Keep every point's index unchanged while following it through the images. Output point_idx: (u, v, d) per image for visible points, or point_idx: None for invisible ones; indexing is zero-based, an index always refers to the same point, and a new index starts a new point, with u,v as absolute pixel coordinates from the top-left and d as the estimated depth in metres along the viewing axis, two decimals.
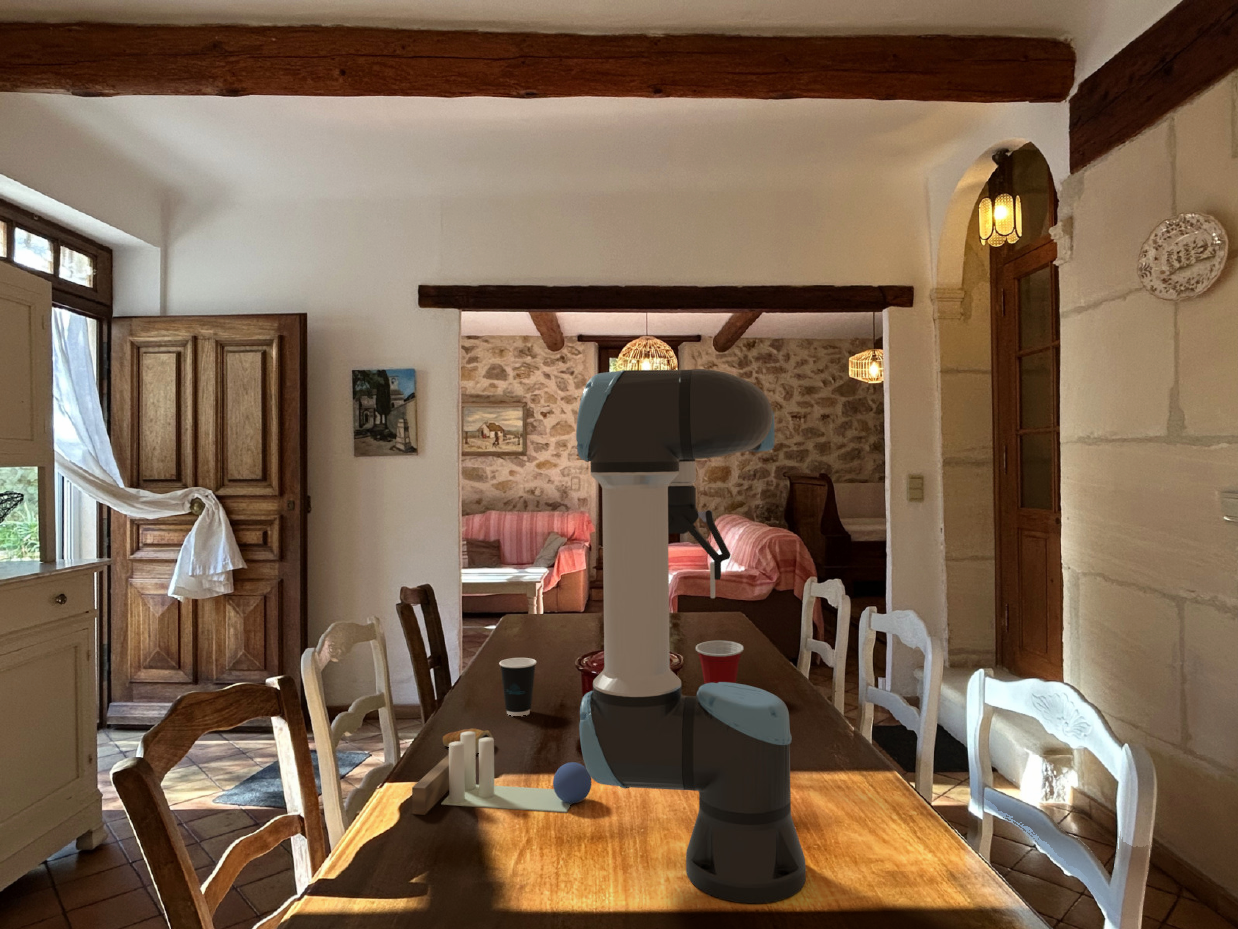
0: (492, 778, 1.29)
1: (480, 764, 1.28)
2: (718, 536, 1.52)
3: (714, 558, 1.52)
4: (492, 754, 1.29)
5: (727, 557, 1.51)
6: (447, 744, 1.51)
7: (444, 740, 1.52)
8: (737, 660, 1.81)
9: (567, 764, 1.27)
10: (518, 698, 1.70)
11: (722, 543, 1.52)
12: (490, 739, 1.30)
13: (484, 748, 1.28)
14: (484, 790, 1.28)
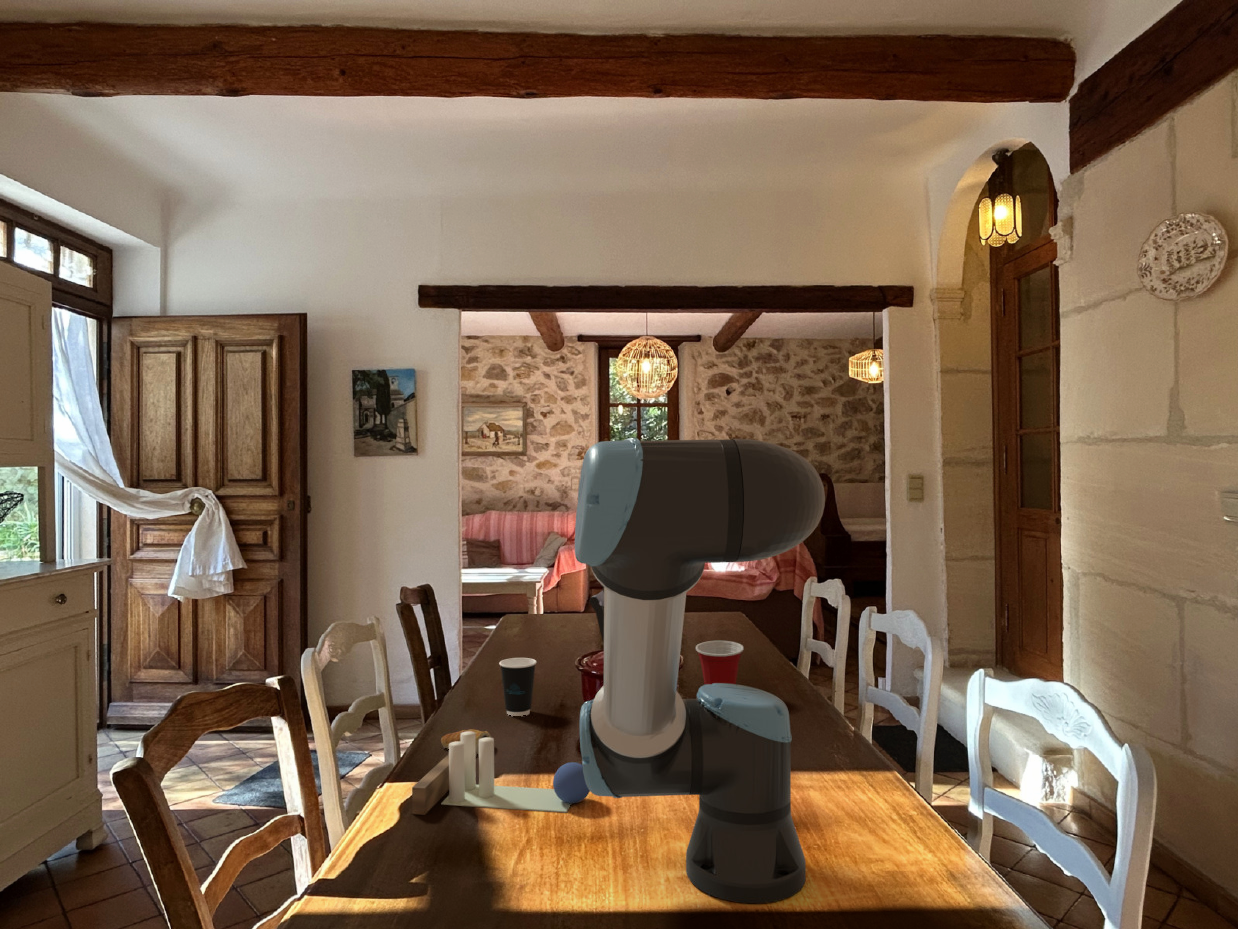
0: (492, 778, 1.29)
1: (480, 764, 1.28)
2: None
3: None
4: (492, 754, 1.29)
5: None
6: (446, 745, 1.51)
7: (443, 741, 1.51)
8: (737, 660, 1.81)
9: (567, 764, 1.27)
10: (518, 698, 1.70)
11: None
12: (490, 739, 1.30)
13: (484, 748, 1.28)
14: (484, 790, 1.28)
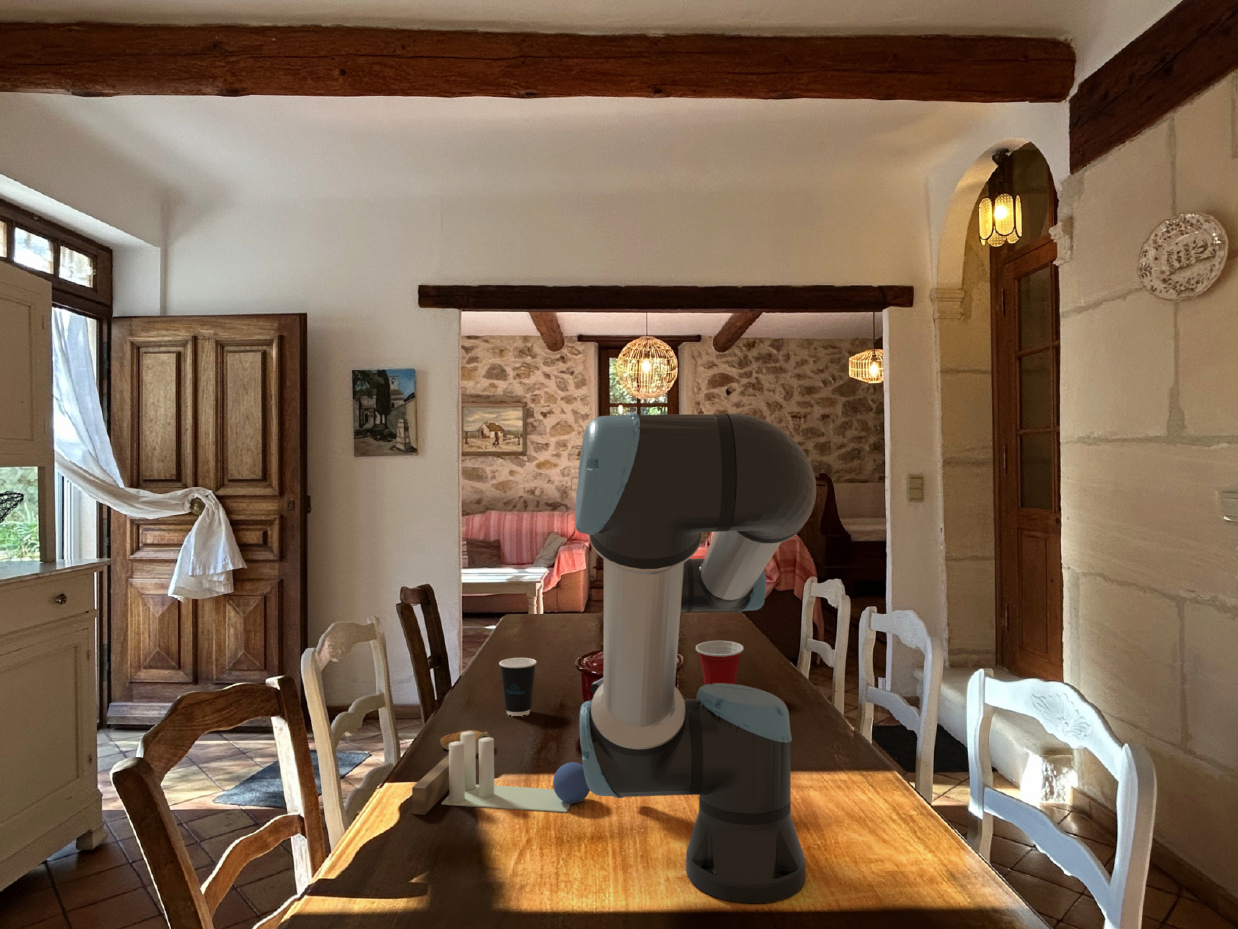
0: (492, 778, 1.29)
1: (480, 764, 1.28)
2: None
3: None
4: (492, 754, 1.29)
5: None
6: (445, 746, 1.50)
7: (442, 742, 1.51)
8: (737, 660, 1.81)
9: (567, 764, 1.27)
10: (518, 698, 1.70)
11: None
12: (490, 739, 1.30)
13: (484, 748, 1.28)
14: (484, 790, 1.28)
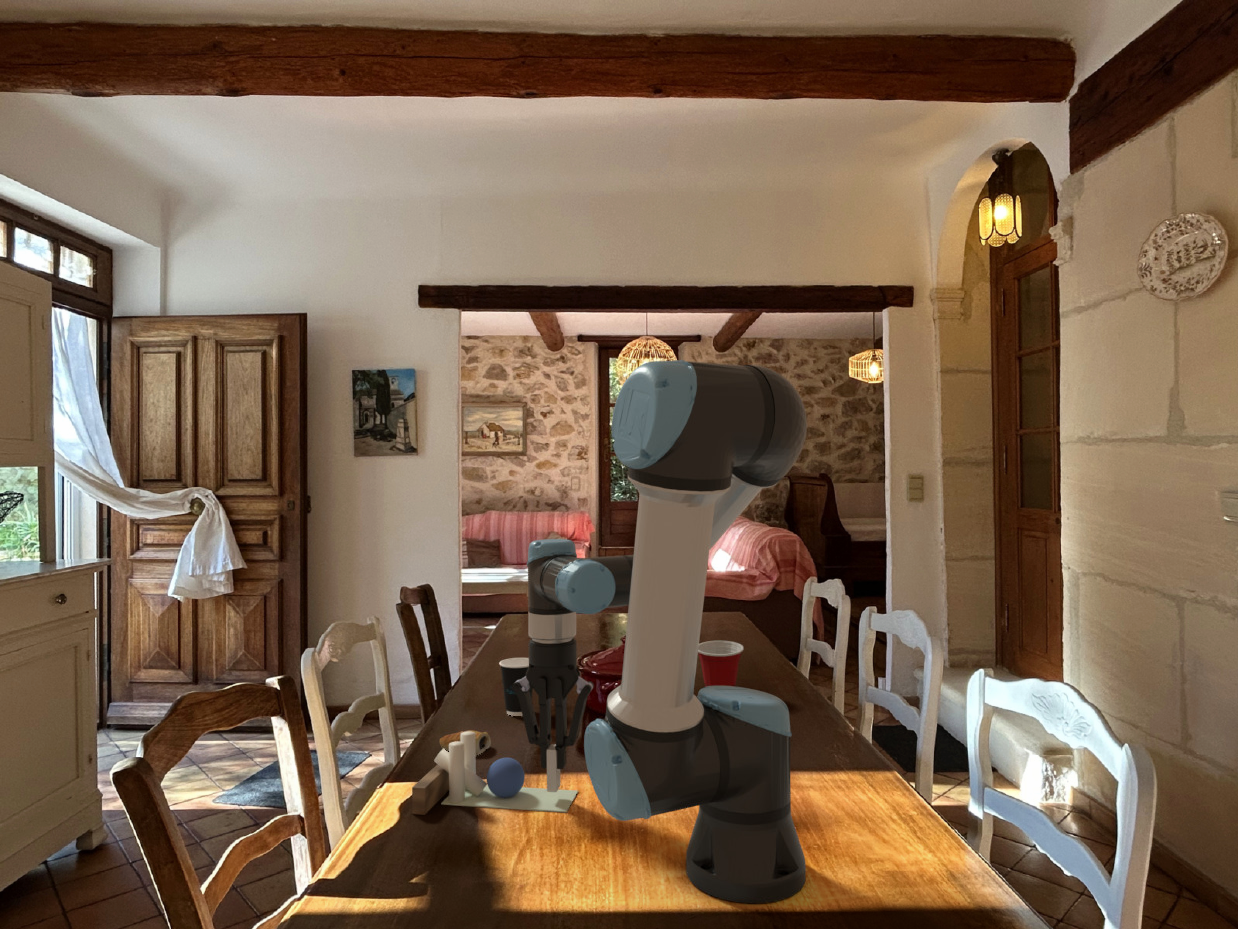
0: (470, 773, 1.29)
1: None
2: (578, 718, 1.25)
3: (558, 742, 1.26)
4: None
5: (570, 743, 1.26)
6: (445, 746, 1.50)
7: (441, 742, 1.51)
8: (737, 660, 1.81)
9: None
10: None
11: (576, 727, 1.26)
12: None
13: (440, 760, 1.29)
14: (472, 787, 1.28)
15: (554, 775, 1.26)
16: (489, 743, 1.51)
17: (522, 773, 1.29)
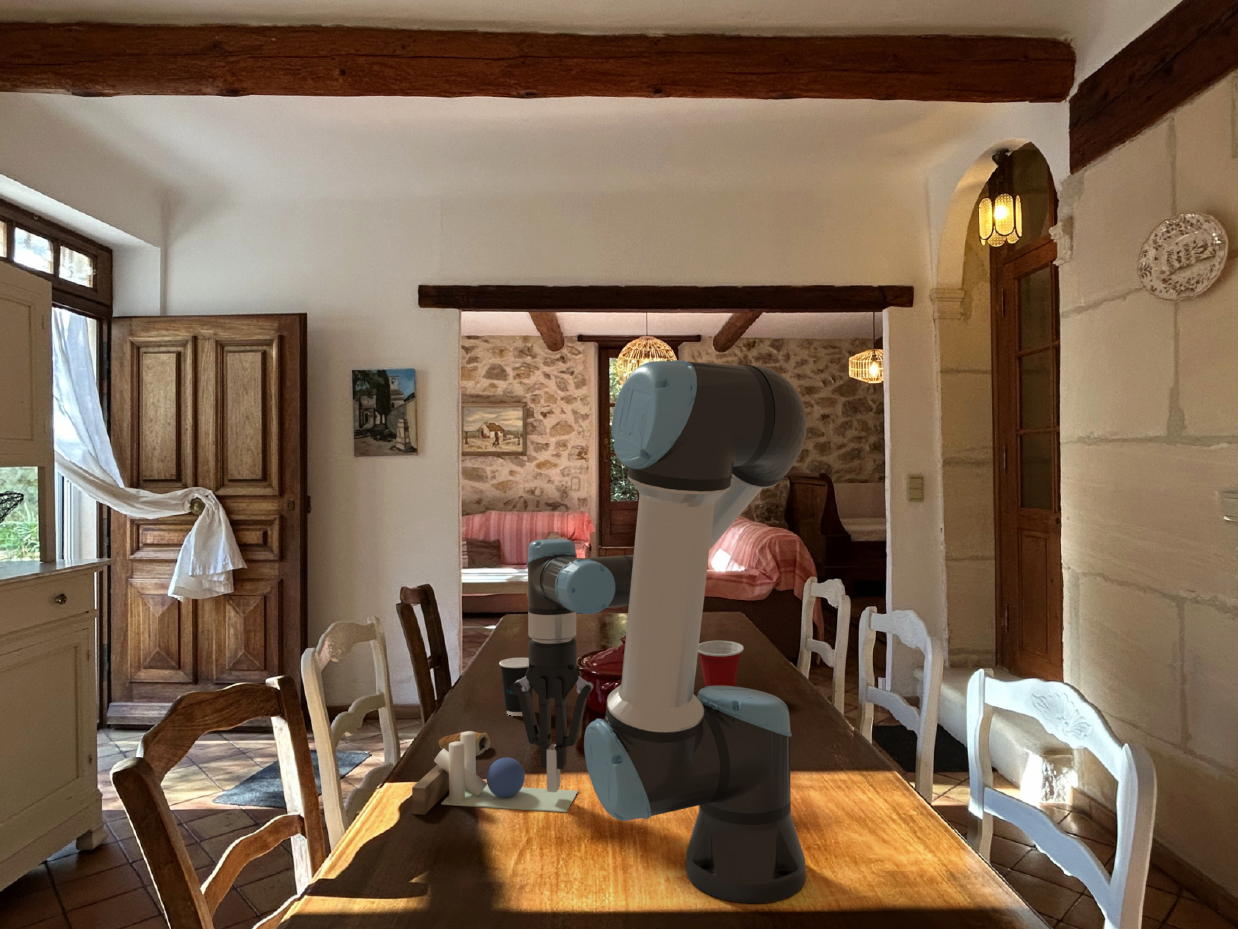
0: (470, 773, 1.29)
1: None
2: (578, 718, 1.25)
3: (558, 742, 1.26)
4: None
5: (570, 744, 1.26)
6: (444, 747, 1.49)
7: (441, 743, 1.50)
8: (737, 660, 1.81)
9: None
10: None
11: (576, 727, 1.26)
12: None
13: (440, 760, 1.29)
14: (472, 787, 1.28)
15: (554, 775, 1.26)
16: (489, 744, 1.51)
17: (522, 773, 1.29)
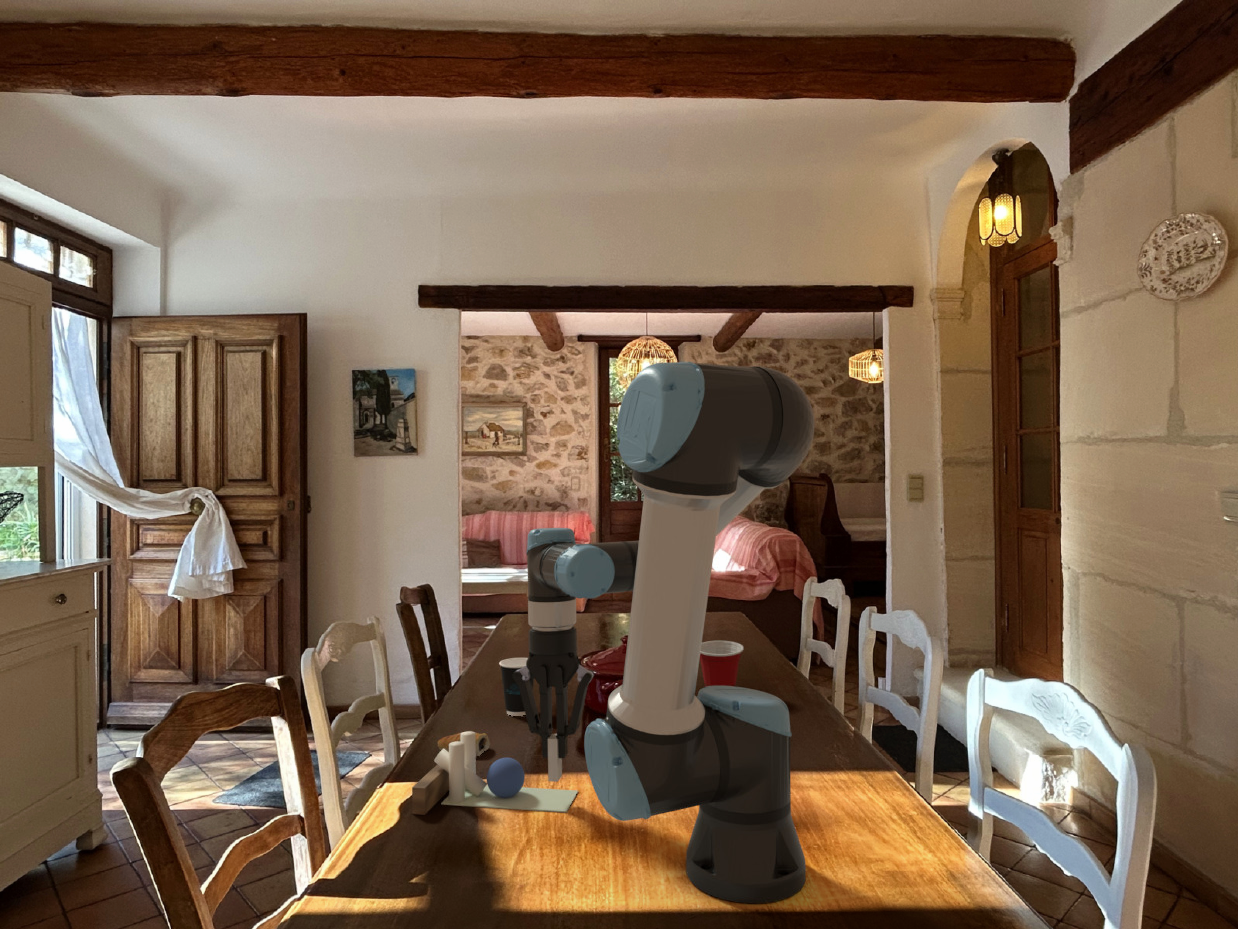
0: (470, 773, 1.29)
1: None
2: (579, 706, 1.25)
3: (559, 731, 1.26)
4: None
5: (571, 732, 1.25)
6: None
7: (440, 744, 1.50)
8: (737, 660, 1.81)
9: None
10: (518, 698, 1.70)
11: (577, 715, 1.25)
12: None
13: (440, 760, 1.29)
14: (472, 787, 1.28)
15: (555, 764, 1.25)
16: (488, 744, 1.51)
17: (522, 773, 1.29)
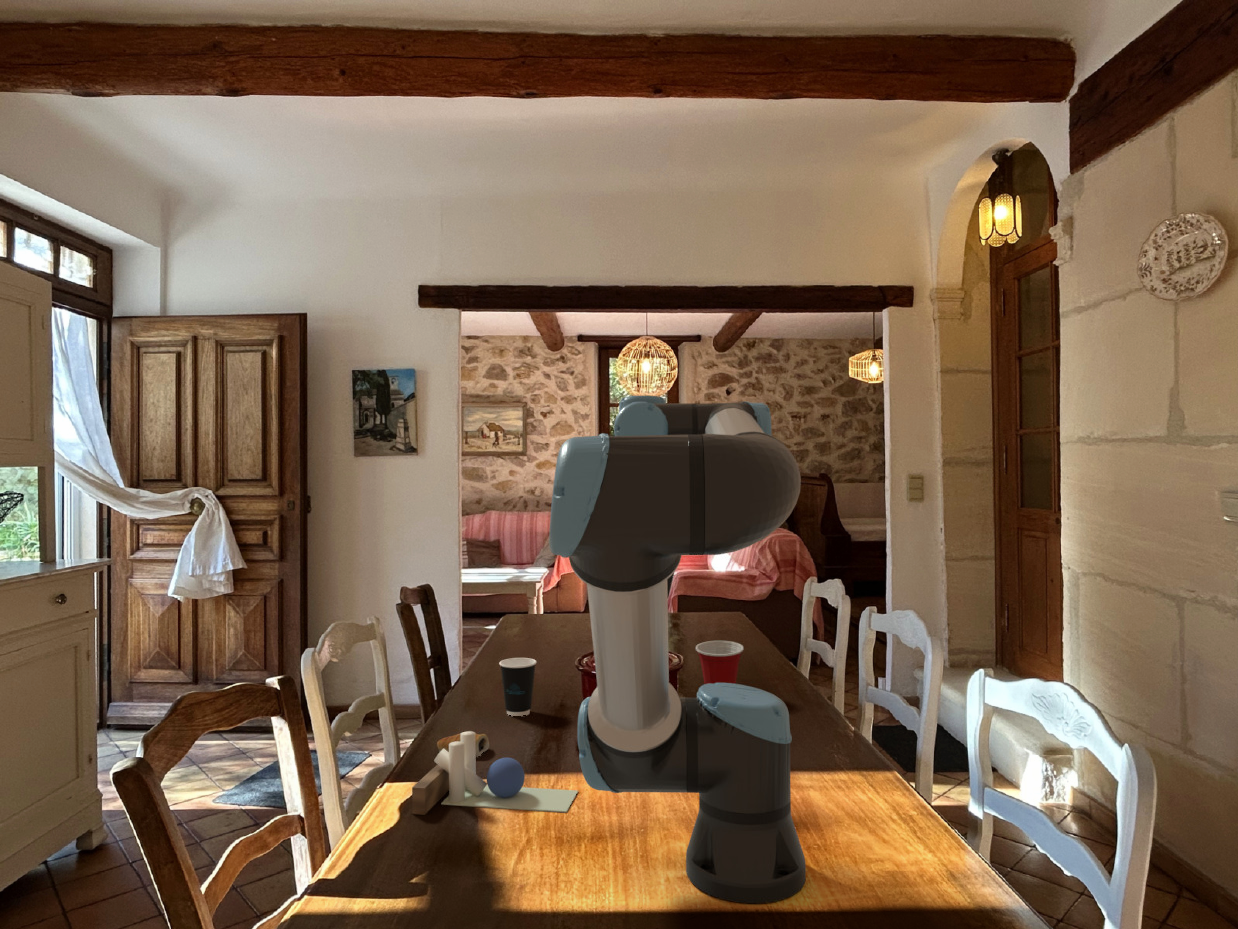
0: (470, 773, 1.29)
1: None
2: None
3: None
4: None
5: None
6: None
7: (439, 745, 1.49)
8: (737, 660, 1.81)
9: None
10: (518, 698, 1.70)
11: (669, 583, 1.25)
12: None
13: (440, 760, 1.29)
14: (472, 787, 1.28)
15: None
16: (487, 745, 1.51)
17: (522, 773, 1.29)
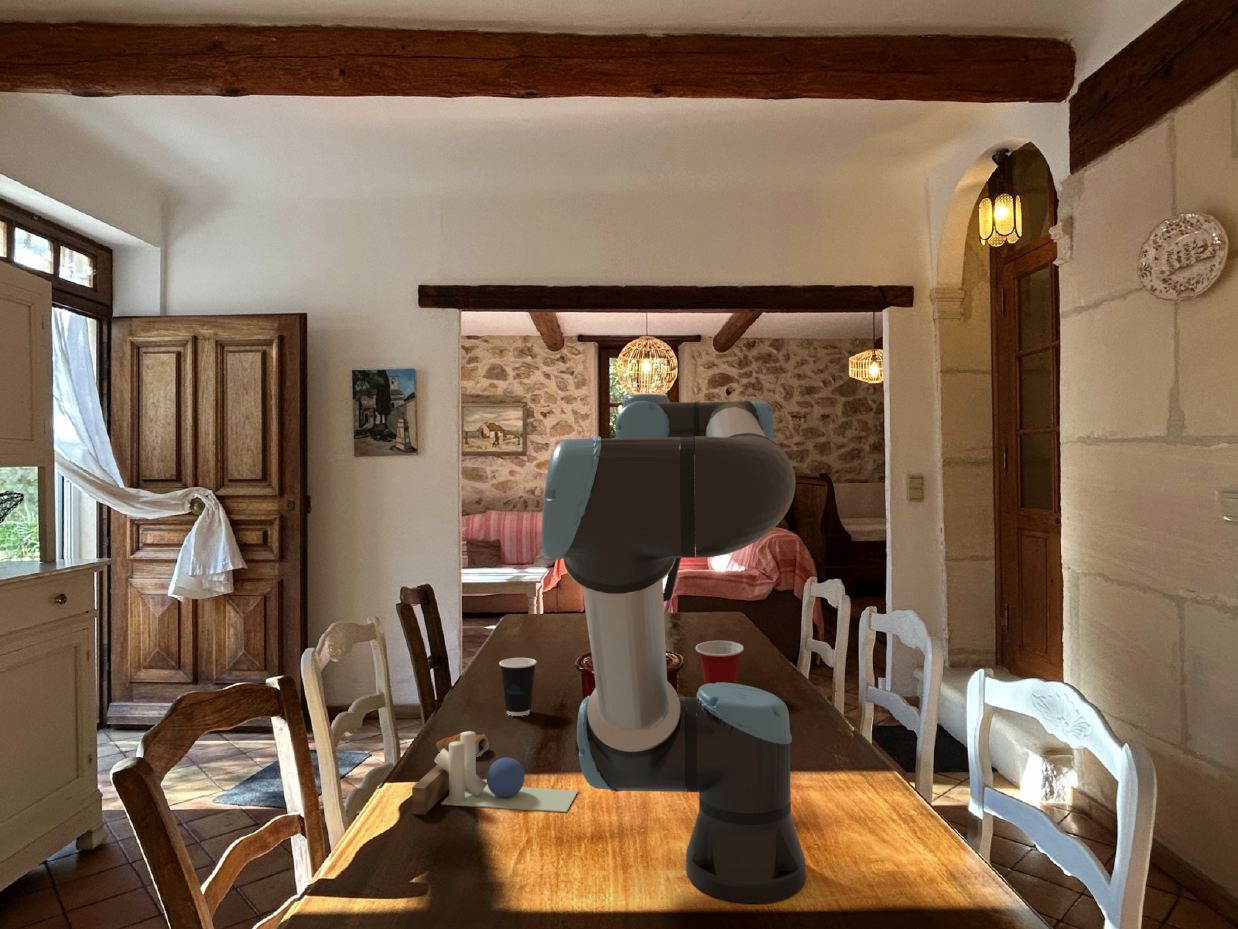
0: (470, 773, 1.29)
1: None
2: (674, 572, 1.25)
3: None
4: None
5: (666, 598, 1.25)
6: None
7: (439, 746, 1.49)
8: (737, 660, 1.81)
9: None
10: (518, 698, 1.70)
11: (672, 582, 1.25)
12: None
13: (440, 760, 1.29)
14: (472, 787, 1.28)
15: None
16: (487, 745, 1.50)
17: (522, 773, 1.29)
